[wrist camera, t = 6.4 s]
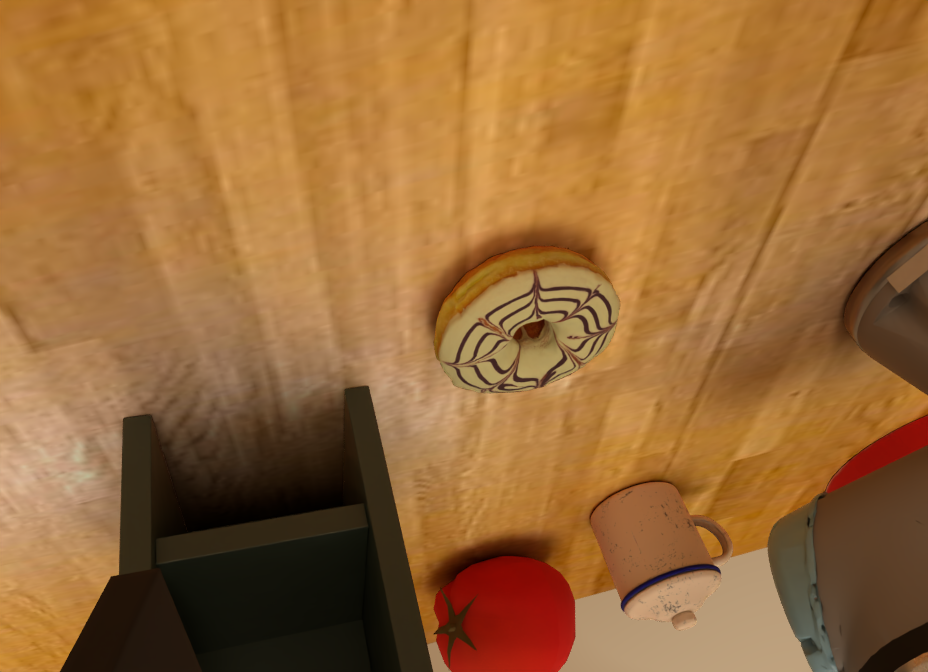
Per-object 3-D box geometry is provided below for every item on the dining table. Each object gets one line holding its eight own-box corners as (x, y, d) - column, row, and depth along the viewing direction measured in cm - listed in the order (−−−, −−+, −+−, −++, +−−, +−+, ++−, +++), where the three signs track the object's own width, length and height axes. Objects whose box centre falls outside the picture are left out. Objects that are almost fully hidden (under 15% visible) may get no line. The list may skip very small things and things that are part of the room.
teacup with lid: (577, 535, 73) (623, 657, 66) (599, 488, 66) (653, 618, 59) (687, 512, 76) (743, 626, 69) (719, 465, 69) (785, 586, 62)
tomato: (544, 532, 78) (437, 522, 71) (626, 600, 68) (511, 597, 60) (504, 642, 80) (395, 644, 72) (578, 725, 69) (460, 738, 62)
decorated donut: (516, 375, 50) (534, 422, 47) (390, 329, 43) (403, 381, 41) (637, 275, 45) (663, 322, 43) (515, 204, 38) (539, 256, 36)
